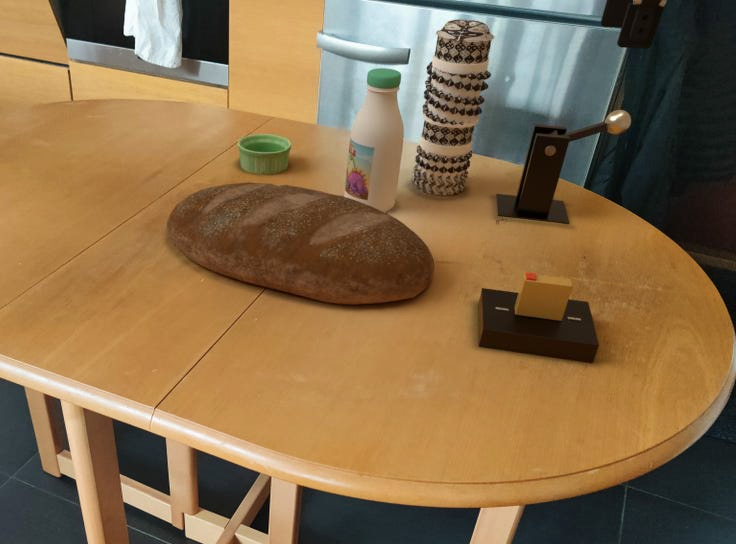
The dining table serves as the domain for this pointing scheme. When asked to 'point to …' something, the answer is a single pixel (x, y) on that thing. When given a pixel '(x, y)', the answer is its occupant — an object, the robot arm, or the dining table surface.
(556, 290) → the lock knob
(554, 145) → the latch bracket
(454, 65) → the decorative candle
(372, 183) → the milk bottle
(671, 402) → the dining table surface
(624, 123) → the latch lever
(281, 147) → the ramekin
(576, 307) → the plate
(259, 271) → the bread
